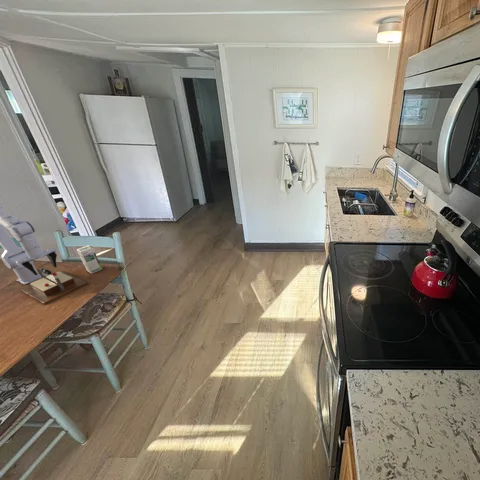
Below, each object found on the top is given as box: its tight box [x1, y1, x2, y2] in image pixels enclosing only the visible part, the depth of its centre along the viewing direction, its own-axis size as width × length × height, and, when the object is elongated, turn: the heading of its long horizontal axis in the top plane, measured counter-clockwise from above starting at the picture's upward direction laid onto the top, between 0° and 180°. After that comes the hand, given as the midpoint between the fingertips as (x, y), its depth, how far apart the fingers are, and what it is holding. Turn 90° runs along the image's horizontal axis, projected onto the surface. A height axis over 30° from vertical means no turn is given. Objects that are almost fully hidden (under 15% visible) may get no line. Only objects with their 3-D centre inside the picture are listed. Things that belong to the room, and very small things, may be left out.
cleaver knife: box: [39, 267, 57, 283], centre depth 134 cm, size 15×2×6 cm, turn 64°
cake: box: [29, 271, 75, 296], centre depth 136 cm, size 14×12×5 cm
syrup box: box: [76, 244, 103, 275], centre depth 148 cm, size 6×6×14 cm
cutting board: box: [20, 268, 89, 305], centre depth 136 cm, size 24×18×8 cm
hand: (45, 270), depth 133 cm, fingers open, 7 cm apart
